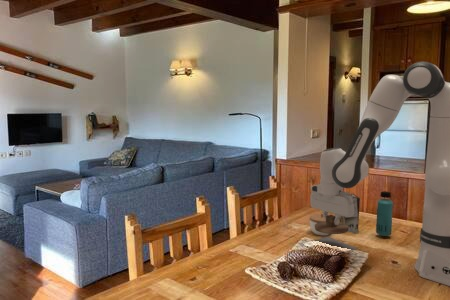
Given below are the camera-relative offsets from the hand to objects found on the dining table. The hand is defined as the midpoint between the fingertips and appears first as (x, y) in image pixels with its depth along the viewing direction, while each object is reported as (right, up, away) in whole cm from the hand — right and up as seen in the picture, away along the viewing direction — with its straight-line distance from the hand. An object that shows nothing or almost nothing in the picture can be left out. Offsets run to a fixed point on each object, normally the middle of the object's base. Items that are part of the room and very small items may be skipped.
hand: (331, 223), depth 151 cm
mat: (-1, -10, +2) cm, 10 cm away
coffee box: (+14, -8, +23) cm, 28 cm away
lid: (0, -2, 0) cm, 2 cm away
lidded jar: (0, -9, +17) cm, 19 cm away
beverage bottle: (+27, -9, +14) cm, 31 cm away
